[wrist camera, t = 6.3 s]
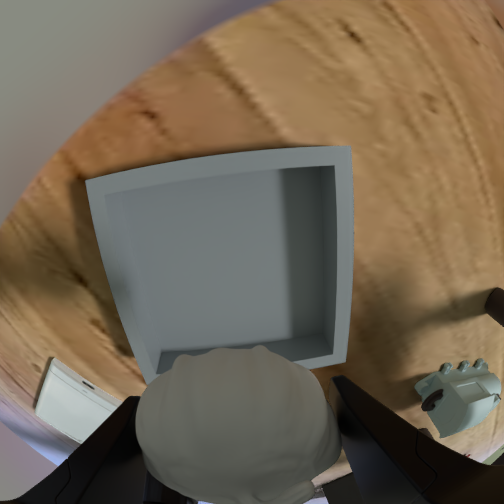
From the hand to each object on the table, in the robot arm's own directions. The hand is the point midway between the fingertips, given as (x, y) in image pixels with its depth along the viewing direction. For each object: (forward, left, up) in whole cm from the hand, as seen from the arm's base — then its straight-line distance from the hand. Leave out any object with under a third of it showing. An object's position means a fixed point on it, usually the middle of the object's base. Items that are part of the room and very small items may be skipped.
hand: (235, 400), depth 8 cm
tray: (0, 0, -11) cm, 11 cm away
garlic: (0, 0, -1) cm, 1 cm away
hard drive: (-19, -14, -12) cm, 27 cm away
